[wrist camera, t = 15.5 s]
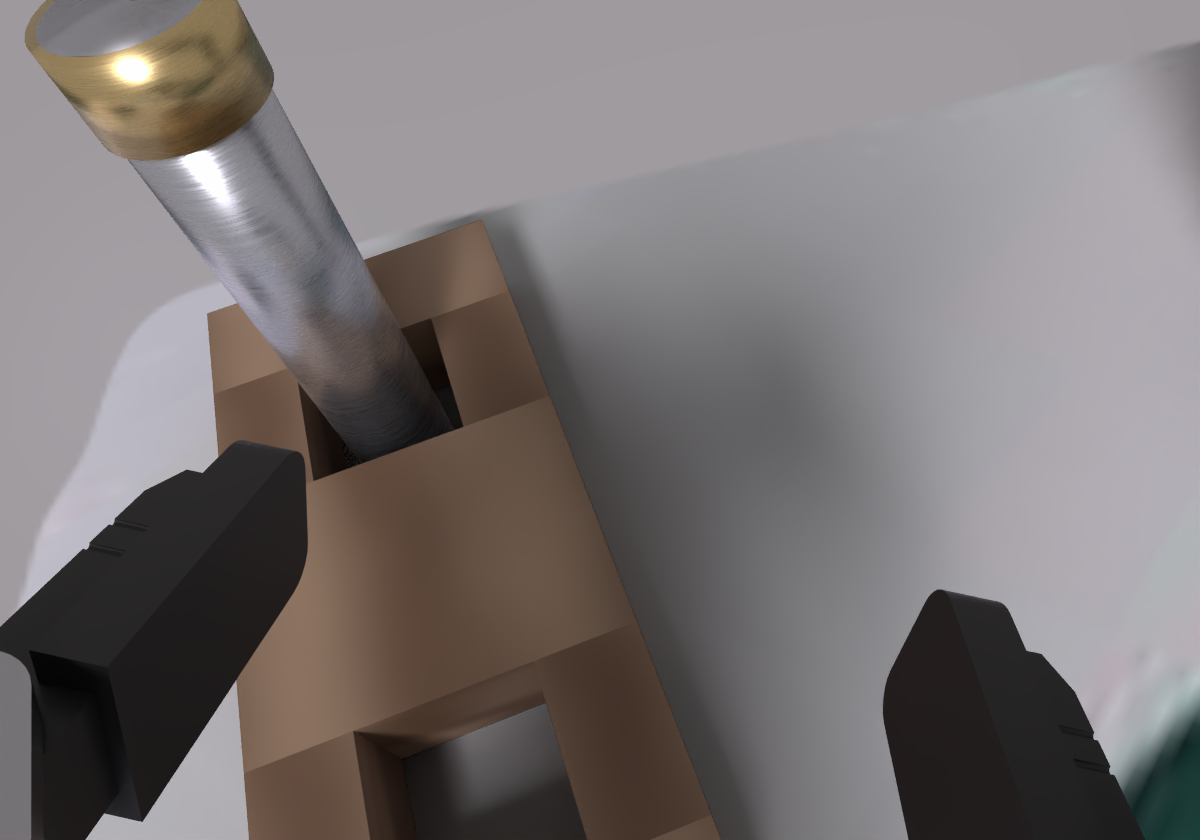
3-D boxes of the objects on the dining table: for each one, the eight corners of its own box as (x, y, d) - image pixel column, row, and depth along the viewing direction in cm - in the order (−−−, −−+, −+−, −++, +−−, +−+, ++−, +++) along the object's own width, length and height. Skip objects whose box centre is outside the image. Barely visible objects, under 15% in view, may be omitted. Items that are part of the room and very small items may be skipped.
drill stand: (504, 286, 31) (481, 219, 29) (780, 1005, 18) (789, 1017, 15) (256, 373, 31) (207, 313, 28) (355, 1188, 17) (280, 1237, 15)
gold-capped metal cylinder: (451, 397, 29) (215, -71, 16) (476, 478, 27) (229, 22, 14) (355, 431, 29) (31, -14, 15) (372, 516, 27) (17, 89, 13)
